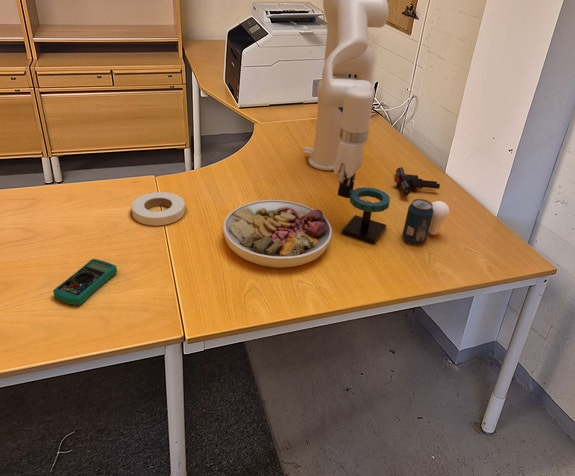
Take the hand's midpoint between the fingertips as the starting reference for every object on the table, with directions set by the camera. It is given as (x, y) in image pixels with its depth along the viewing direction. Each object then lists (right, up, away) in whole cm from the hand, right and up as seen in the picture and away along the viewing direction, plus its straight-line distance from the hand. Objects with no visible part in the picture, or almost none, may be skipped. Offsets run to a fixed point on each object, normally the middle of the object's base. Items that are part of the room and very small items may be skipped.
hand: (345, 194), depth 150 cm
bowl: (-20, -14, -4) cm, 24 cm away
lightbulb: (+26, -12, +4) cm, 29 cm away
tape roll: (-55, -5, +5) cm, 56 cm away
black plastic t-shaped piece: (+27, +4, +29) cm, 40 cm away
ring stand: (+6, -11, +3) cm, 13 cm away
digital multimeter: (-65, -24, -25) cm, 74 cm away
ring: (+5, -2, -2) cm, 6 cm away
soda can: (+20, -13, +1) cm, 24 cm away
